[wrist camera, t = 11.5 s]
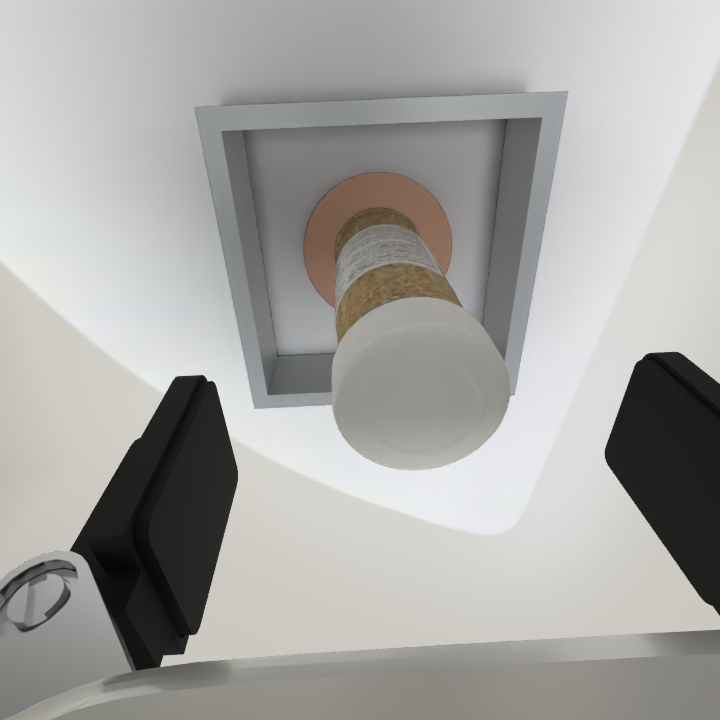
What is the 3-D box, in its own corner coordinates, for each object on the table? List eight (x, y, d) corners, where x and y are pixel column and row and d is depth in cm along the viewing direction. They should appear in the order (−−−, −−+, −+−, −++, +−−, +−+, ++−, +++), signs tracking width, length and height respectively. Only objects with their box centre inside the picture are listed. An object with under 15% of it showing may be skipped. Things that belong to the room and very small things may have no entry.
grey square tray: (220, 105, 19) (194, 107, 16) (528, 92, 19) (567, 91, 16) (265, 368, 26) (254, 408, 23) (491, 356, 26) (514, 395, 23)
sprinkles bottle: (410, 297, 24) (483, 484, 12) (327, 286, 23) (320, 471, 12) (431, 211, 22) (544, 341, 10) (339, 196, 21) (346, 315, 9)
